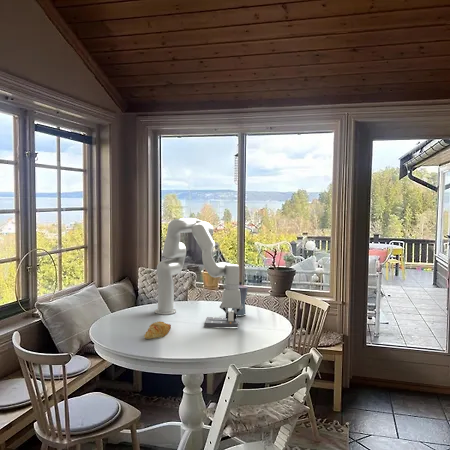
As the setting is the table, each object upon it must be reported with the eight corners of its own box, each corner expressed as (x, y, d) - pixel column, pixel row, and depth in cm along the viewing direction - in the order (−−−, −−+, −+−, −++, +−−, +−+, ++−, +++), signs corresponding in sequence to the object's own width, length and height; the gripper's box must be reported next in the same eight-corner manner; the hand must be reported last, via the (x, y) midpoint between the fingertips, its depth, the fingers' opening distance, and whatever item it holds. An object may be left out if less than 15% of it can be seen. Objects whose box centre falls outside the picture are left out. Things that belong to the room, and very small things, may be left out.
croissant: (149, 348, 222) (156, 335, 220) (134, 336, 225) (141, 323, 223) (173, 336, 241) (179, 324, 238) (159, 324, 244) (165, 312, 242)
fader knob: (228, 322, 255) (228, 310, 254) (233, 322, 255) (234, 310, 254) (227, 324, 251) (228, 312, 250) (233, 324, 251) (233, 312, 250)
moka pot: (251, 313, 279) (252, 281, 278) (238, 319, 266) (239, 285, 265) (238, 311, 285) (238, 279, 283) (224, 316, 272) (225, 283, 270)
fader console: (206, 321, 260) (206, 316, 260) (238, 322, 258) (238, 318, 258) (204, 327, 248) (204, 322, 248) (237, 328, 247) (237, 323, 246)
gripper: (216, 287, 248) (215, 321, 250) (246, 288, 247) (245, 322, 248) (217, 285, 256) (216, 317, 257) (247, 286, 255) (246, 318, 256)
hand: (231, 319), depth 253 cm, fingers closed on fader knob, 3 cm apart
